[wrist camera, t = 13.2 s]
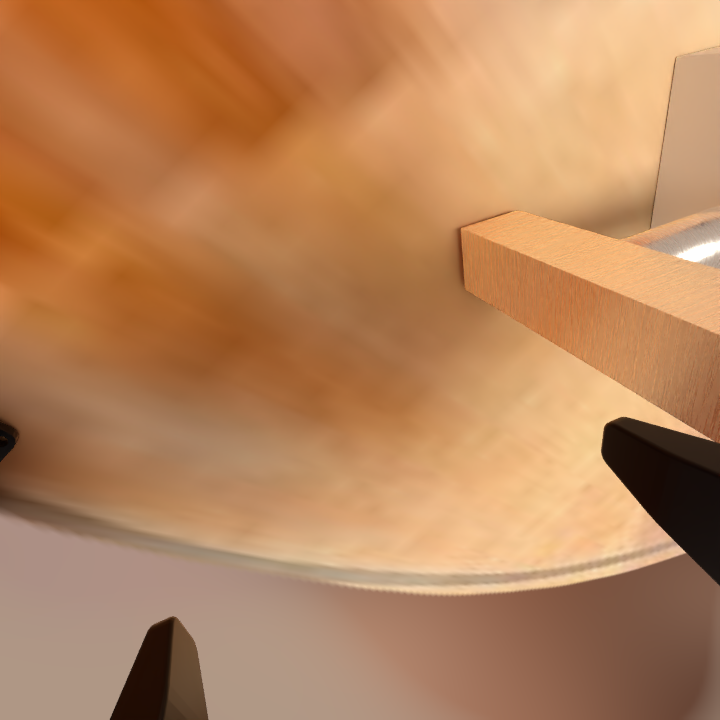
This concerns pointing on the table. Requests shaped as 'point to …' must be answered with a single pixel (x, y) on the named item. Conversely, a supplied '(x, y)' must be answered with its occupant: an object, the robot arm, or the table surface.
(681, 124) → the block
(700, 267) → the grey piece
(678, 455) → the robot arm
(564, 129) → the table surface
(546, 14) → the table surface
